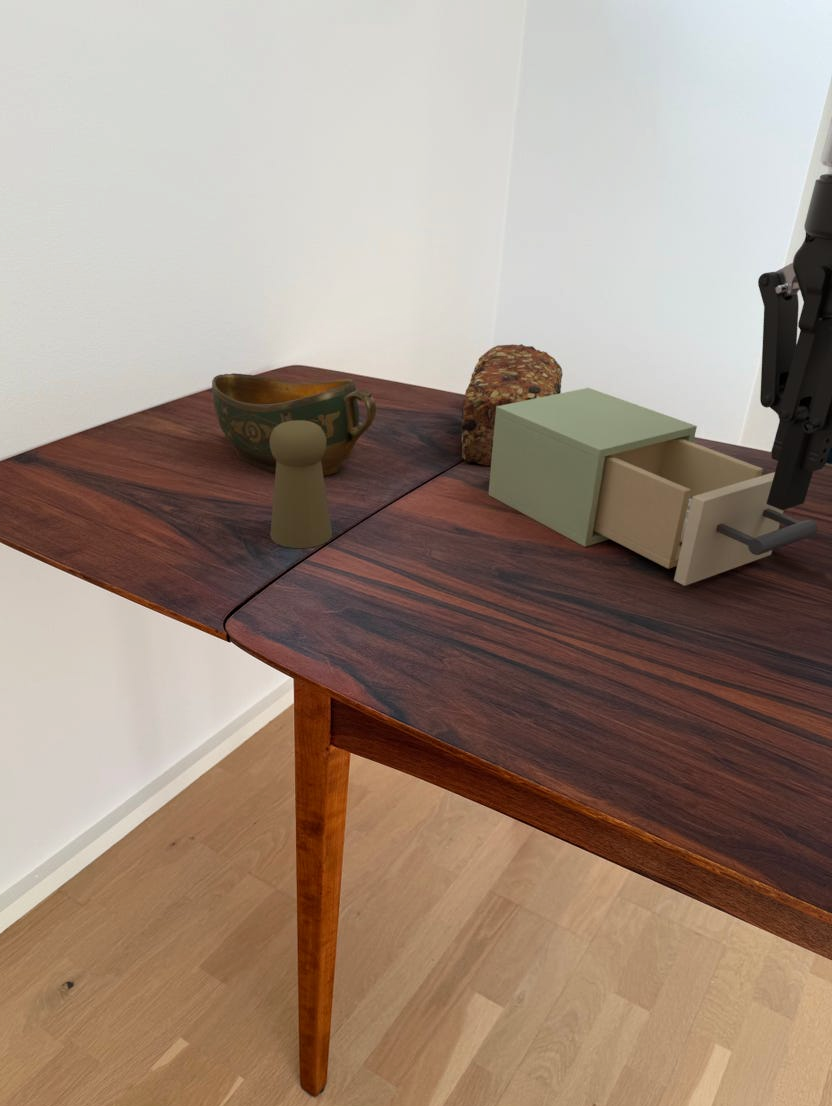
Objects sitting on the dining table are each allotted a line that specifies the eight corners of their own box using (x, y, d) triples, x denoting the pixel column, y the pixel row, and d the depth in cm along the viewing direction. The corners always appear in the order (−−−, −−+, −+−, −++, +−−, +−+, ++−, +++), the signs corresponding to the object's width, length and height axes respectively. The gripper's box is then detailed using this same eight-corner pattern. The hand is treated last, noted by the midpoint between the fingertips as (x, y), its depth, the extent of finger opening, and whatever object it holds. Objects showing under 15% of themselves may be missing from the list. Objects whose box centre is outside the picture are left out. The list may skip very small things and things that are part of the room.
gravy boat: (276, 503, 92) (271, 408, 86) (208, 445, 107) (200, 360, 101) (382, 481, 97) (384, 389, 92) (304, 428, 112) (301, 347, 106)
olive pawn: (270, 522, 88) (264, 414, 82) (330, 520, 88) (329, 412, 82) (269, 549, 83) (263, 436, 77) (333, 547, 83) (332, 434, 77)
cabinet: (677, 518, 89) (697, 425, 83) (584, 547, 83) (600, 449, 78) (576, 472, 99) (588, 387, 94) (488, 495, 94) (495, 406, 89)
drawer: (817, 575, 76) (844, 492, 72) (730, 610, 71) (753, 522, 67) (657, 503, 90) (672, 429, 85) (573, 528, 85) (585, 450, 80)
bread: (476, 415, 116) (482, 337, 111) (558, 422, 114) (568, 343, 109) (455, 465, 101) (460, 378, 96) (549, 474, 99) (560, 385, 93)
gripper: (1014, 178, 55) (890, 522, 68) (825, 164, 64) (747, 469, 77) (948, 183, 52) (830, 545, 64) (759, 168, 61) (688, 486, 74)
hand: (785, 503), depth 71 cm, fingers closed
